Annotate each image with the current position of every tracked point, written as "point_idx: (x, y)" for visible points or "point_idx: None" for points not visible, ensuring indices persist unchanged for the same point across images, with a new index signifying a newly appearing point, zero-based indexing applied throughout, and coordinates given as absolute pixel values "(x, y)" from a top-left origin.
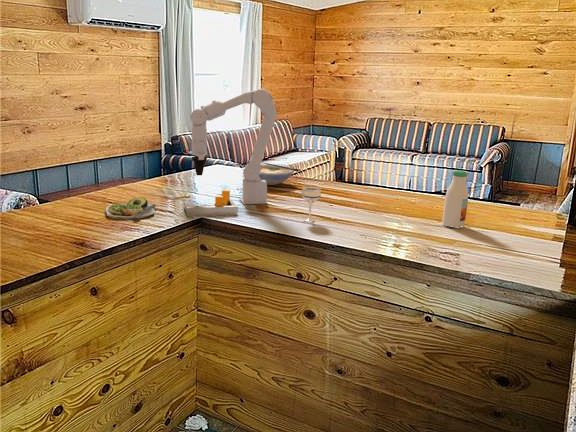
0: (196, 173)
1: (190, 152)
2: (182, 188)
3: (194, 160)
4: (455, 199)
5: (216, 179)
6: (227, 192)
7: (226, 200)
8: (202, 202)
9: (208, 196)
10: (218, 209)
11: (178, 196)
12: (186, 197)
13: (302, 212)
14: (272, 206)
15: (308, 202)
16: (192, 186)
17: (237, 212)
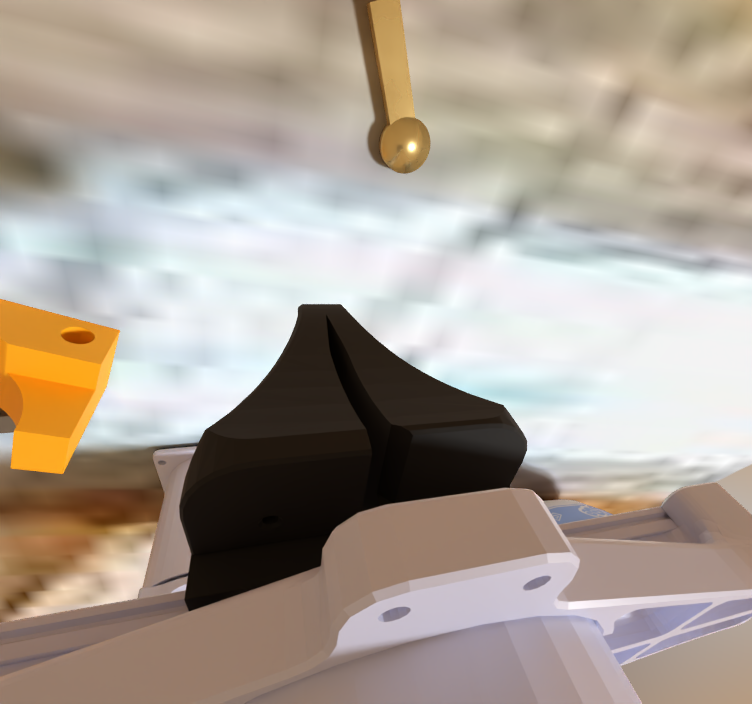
0: (299, 312)
1: (327, 625)
2: (654, 162)
3: (203, 450)
4: None
5: (698, 375)
6: (15, 453)
7: (2, 404)
8: (201, 236)
9: (377, 300)
10: None
11: (386, 46)
12: (381, 133)
13: (31, 604)
14: (129, 535)
15: None
16: (657, 242)
17: None
